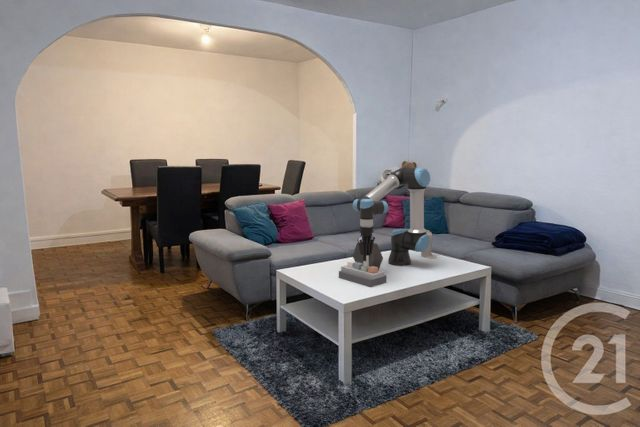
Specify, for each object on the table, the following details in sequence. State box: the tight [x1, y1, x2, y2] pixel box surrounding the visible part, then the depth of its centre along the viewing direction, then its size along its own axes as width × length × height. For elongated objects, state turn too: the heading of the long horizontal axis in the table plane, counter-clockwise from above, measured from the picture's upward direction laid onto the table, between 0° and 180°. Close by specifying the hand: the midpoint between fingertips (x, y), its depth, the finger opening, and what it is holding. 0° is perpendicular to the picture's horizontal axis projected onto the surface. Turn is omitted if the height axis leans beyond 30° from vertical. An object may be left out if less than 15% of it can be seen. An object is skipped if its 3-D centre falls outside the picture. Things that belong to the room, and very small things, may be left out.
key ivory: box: [346, 260, 357, 268], centre depth 270 cm, size 4×4×3 cm
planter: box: [352, 242, 384, 271], centre depth 284 cm, size 17×8×21 cm
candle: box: [420, 228, 438, 259], centre depth 320 cm, size 7×14×20 cm, turn 42°
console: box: [338, 264, 387, 288], centre depth 264 cm, size 14×25×6 cm, turn 42°
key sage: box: [361, 266, 370, 272], centre depth 262 cm, size 4×4×3 cm
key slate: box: [354, 263, 363, 270], centre depth 266 cm, size 4×4×3 cm
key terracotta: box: [368, 266, 378, 274], centre depth 258 cm, size 4×4×3 cm
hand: (365, 266), depth 262 cm, fingers closed
